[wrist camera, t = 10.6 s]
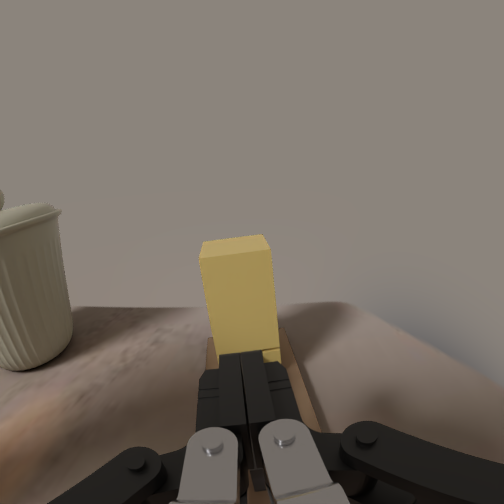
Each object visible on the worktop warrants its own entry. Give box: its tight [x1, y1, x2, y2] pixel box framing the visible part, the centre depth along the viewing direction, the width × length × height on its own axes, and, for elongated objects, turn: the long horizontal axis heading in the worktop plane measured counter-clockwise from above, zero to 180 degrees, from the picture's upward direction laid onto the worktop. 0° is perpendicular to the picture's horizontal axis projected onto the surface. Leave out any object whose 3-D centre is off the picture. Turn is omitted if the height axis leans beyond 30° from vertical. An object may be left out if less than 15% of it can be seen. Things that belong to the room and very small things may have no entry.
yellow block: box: [199, 234, 281, 364], centre depth 25 cm, size 5×5×10 cm
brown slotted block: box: [206, 328, 322, 504], centre depth 22 cm, size 8×20×6 cm, turn 5°
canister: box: [0, 190, 73, 371], centre depth 29 cm, size 18×18×21 cm
